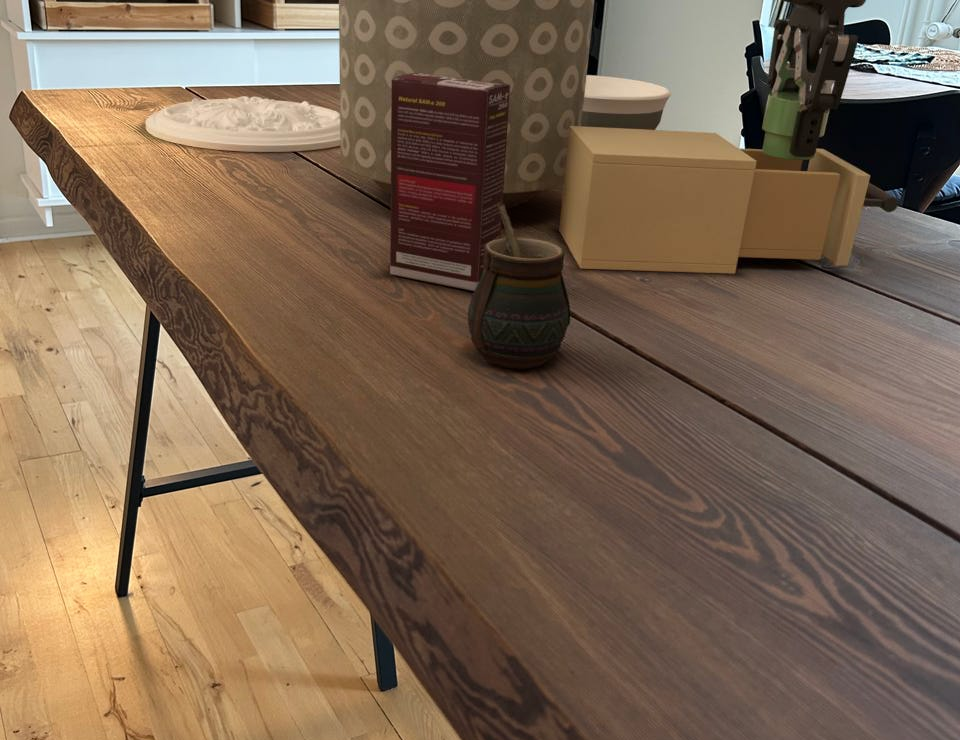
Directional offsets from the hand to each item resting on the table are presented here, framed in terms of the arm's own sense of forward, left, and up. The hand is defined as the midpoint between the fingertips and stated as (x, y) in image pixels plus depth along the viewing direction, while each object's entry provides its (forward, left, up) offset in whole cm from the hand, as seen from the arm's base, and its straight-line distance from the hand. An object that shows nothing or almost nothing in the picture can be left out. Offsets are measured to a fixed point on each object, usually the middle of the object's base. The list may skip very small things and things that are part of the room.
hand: (789, 148), depth 96 cm
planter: (+30, -16, -10) cm, 35 cm away
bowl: (+9, -48, -10) cm, 50 cm away
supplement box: (+33, +10, -10) cm, 36 cm away
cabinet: (+13, 0, -10) cm, 16 cm away
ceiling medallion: (+55, -51, -10) cm, 75 cm away
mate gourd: (+29, +28, -10) cm, 41 cm away
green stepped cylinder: (0, 0, 0) cm, 1 cm away
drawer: (-1, 0, -9) cm, 9 cm away
